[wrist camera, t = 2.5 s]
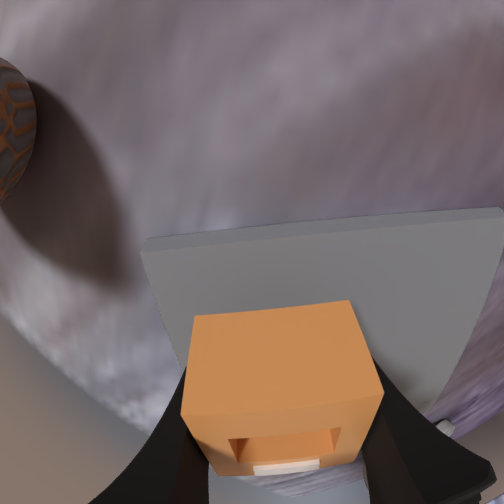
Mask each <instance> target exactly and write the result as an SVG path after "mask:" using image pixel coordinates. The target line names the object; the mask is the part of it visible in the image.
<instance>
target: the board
mask: <svg viewBox="0 0 504 504" xmlns="http://www.w3.org/2000/svg"><path fill="white" fill-rule="evenodd" d="M503 248H504V211H503V210H502V209H501V208H499V207H489V208H472V209H456V210H440V211H426V212H412V213H399V214H386V215H374V216H362V217H350V218H339V219H328V220H317V221H306V222H296V223H285V224H275V225H266V226H256V227H246V228H237V229H228V230H219V231H210V232H201V233H192V234H184V235H175V236H167V237H159V238H151V239H147V240H146V242H145V244H144V246H143V248H142V250H141V252H140V255H141V259H142V262H143V265H144V268H145V271H146V274H147V277H148V280H149V283H150V286H151V289H152V292H153V295H154V298H155V301H156V304H157V306H158V309H159V312H160V315H161V317H162V320H163V323H164V326H165V328H166V331H167V333H168V336H169V339H170V341H171V344H172V346H173V349H174V351H175V354H176V356H177V359H178V361H179V364H180V366H181V369H182V371H183V372H184V370H185V367H186V366H187V363H188V356H189V349H190V342H191V336H192V329H193V323H194V316H196V315H210V314H223V313H234V312H246V311H256V310H267V309H276V308H286V307H295V306H303V305H312V304H320V303H328V302H336V301H343V300H349V301H350V304H351V306H352V309H353V311H354V313H355V316H356V318H357V321H358V323H359V326H360V329H361V331H362V334H363V336H364V339H365V341H366V344H367V347H368V349H369V352H370V354H371V355H372V357H373V358H374V360H375V361H376V362H377V364H378V365H379V366H380V368H381V369H382V370H383V372H384V373H385V374H386V375H387V377H388V378H389V379H390V380H391V382H392V383H393V384H394V385H395V386H396V387H397V389H398V390H399V391H400V392H401V393H402V394H403V396H404V397H405V398H406V399H407V400H408V401H409V402H410V403H411V404H412V405H413V406H414V407H415V408H416V409H417V410H418V411H419V412H420V413H421V414H422V413H426V412H429V411H430V410H431V409H432V407H433V405H434V404H435V402H436V400H437V399H438V397H439V395H440V394H441V392H442V390H443V389H444V387H445V385H446V383H447V382H448V380H449V378H450V376H451V374H452V372H453V371H454V369H455V367H456V365H457V363H458V361H459V359H460V357H461V355H462V353H463V351H464V349H465V347H466V345H467V343H468V341H469V338H470V336H471V334H472V332H473V330H474V327H475V325H476V323H477V320H478V318H479V316H480V313H481V311H482V308H483V306H484V303H485V301H486V298H487V296H488V293H489V290H490V287H491V285H492V282H493V279H494V276H495V273H496V270H497V267H498V264H499V261H500V258H501V254H502V251H503Z"/></svg>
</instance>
